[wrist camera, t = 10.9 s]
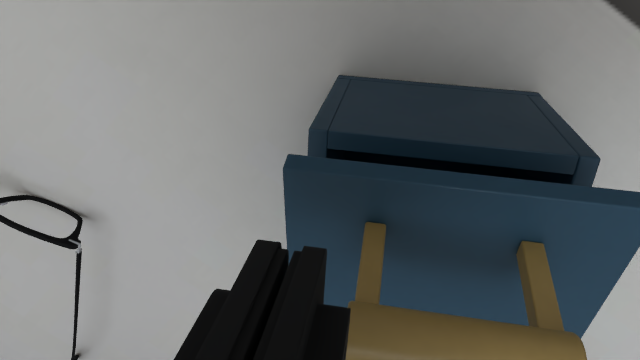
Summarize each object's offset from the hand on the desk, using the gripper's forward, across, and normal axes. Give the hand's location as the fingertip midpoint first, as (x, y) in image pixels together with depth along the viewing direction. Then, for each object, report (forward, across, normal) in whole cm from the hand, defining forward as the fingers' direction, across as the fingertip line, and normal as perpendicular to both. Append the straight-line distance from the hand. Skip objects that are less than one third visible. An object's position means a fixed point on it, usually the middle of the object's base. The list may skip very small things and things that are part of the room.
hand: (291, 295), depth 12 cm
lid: (+7, -4, +5) cm, 10 cm away
